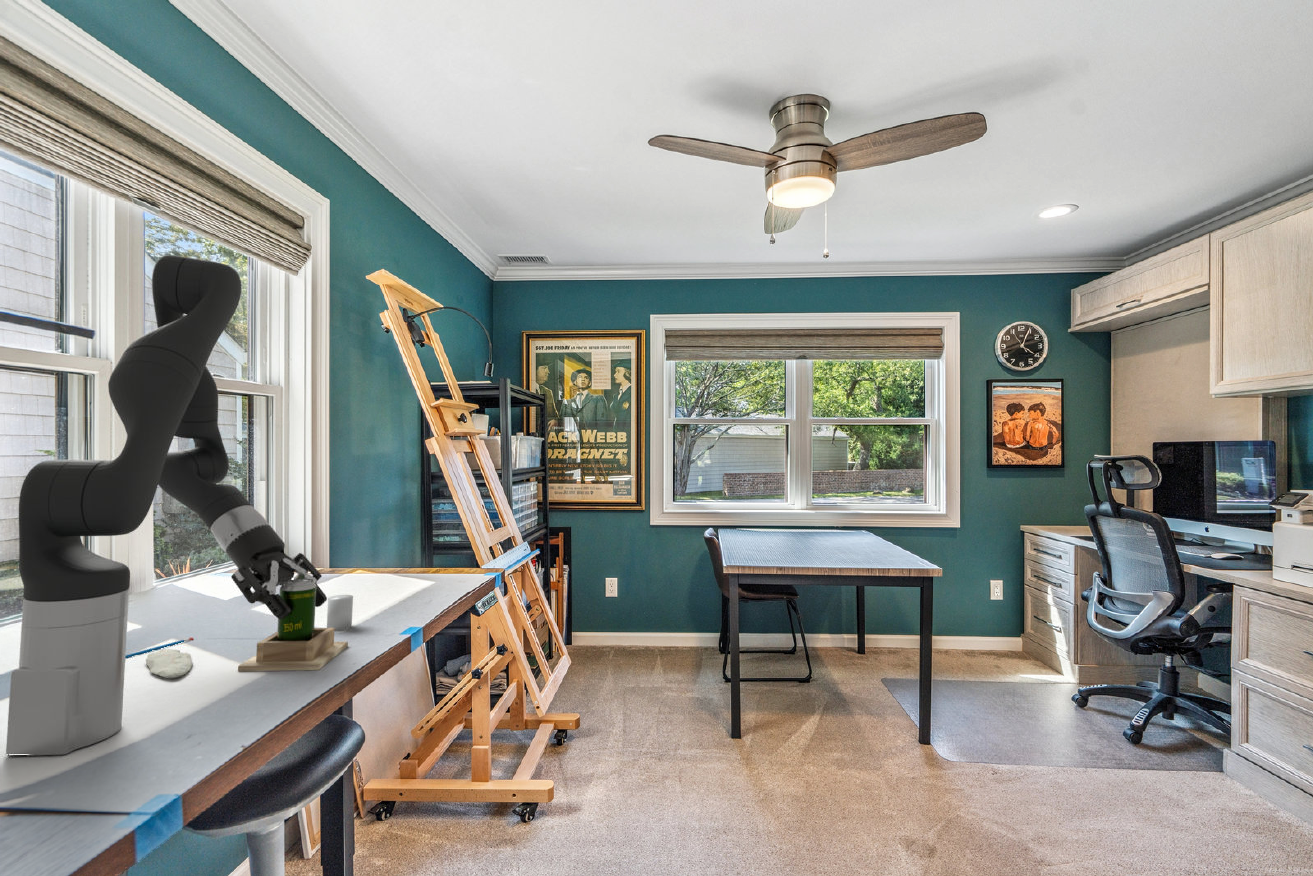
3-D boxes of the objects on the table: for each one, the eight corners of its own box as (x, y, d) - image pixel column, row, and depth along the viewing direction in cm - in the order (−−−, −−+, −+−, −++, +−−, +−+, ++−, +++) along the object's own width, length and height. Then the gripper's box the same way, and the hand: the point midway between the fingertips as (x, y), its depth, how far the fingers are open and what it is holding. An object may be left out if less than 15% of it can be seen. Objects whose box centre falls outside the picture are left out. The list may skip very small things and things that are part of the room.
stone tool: (142, 663, 98) (152, 685, 88) (143, 650, 99) (154, 670, 88) (186, 657, 102) (201, 678, 92) (187, 644, 103) (202, 663, 92)
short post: (346, 630, 117) (348, 599, 117) (322, 631, 116) (324, 599, 116) (355, 624, 121) (356, 594, 121) (332, 624, 121) (333, 594, 121)
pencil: (193, 641, 109) (193, 638, 109) (80, 673, 92) (80, 668, 92) (190, 641, 109) (190, 637, 109) (76, 672, 93) (77, 667, 93)
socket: (318, 670, 96) (319, 646, 96) (237, 671, 94) (239, 646, 94) (347, 646, 108) (348, 624, 108) (276, 647, 106) (277, 625, 106)
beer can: (310, 646, 105) (314, 577, 105) (315, 654, 100) (319, 582, 101) (274, 651, 101) (278, 580, 102) (278, 660, 97) (282, 586, 97)
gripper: (227, 528, 96) (288, 604, 94) (293, 519, 110) (347, 585, 108) (196, 559, 96) (256, 636, 94) (265, 547, 110) (319, 613, 108)
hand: (305, 609), depth 101 cm, fingers open, 8 cm apart
